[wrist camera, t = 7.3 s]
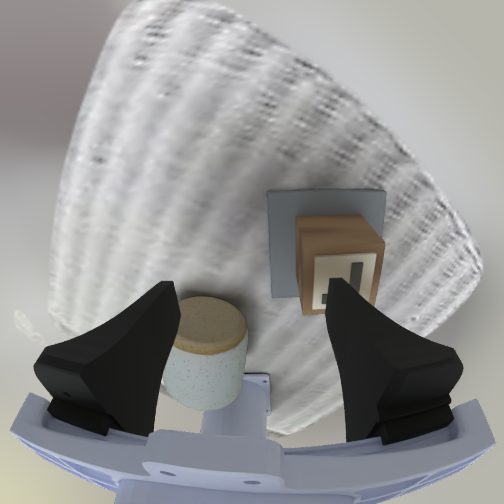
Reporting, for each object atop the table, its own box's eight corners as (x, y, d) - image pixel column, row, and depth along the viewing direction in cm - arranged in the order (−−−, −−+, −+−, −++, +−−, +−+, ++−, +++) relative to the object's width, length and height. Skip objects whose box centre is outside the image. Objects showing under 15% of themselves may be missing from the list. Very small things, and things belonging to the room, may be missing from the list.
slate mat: (370, 288, 23) (372, 291, 23) (271, 293, 24) (271, 298, 23) (383, 189, 19) (386, 192, 19) (267, 191, 20) (267, 193, 19)
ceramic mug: (253, 295, 24) (246, 362, 17) (245, 356, 28) (238, 418, 21) (139, 279, 24) (102, 335, 17) (149, 341, 28) (125, 395, 21)
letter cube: (355, 271, 22) (375, 312, 17) (295, 275, 22) (303, 318, 18) (360, 214, 20) (387, 245, 15) (295, 216, 20) (305, 250, 15)
